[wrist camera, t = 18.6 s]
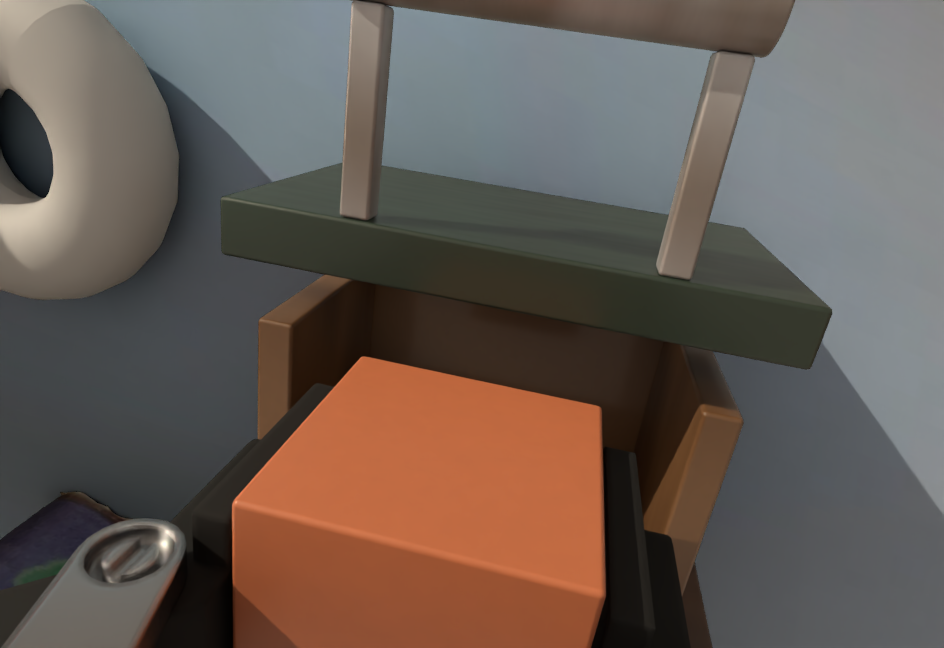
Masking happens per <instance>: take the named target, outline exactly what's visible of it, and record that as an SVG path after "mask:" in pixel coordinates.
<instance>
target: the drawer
mask: <svg viewBox="0 0 944 648" xmlns="http://www.w3.org/2000/svg"><path fill="white" fill-rule="evenodd" d="M351 1H353V2H352V8H351V26H350V43H349V60H348V78H347V95H346V112H345V130H344V147H343V163H339V164H336V165H332V166H329V167H325V168H321V169H318V170H314V171H311V172H307V173H304V174H300V175H297V176H293V177H290V178H286V179H283V180H279V181H276V182H272V183H269V184H265V185H261V186H258V187H254V188H251V189H247V190H244V191H240V192H237V193H233V194H230V195H226V196H223V197H222V198H221V251H222V253H223V254H225V255H229V256H234V257H239V258H244V259H249V260H254V261H259V262H264V263H269V264H274V265H280V266H285V267H290V268H295V269H300V270H305V271H310V272H315V273H320V274H325V275H323V276H322V277H320V278H319V279H318V280H316V281H315V282H313V283H312V284H310V285H309V286H307V287H306V288H304V289H303V290H301V291H300V292H298V293H297V294H295V295H294V296H292V297H291V298H289V299H288V300H287V301H285V302H284V303H282V304H281V305H279V306H278V307H276V308H275V309H273V310H272V311H270V312H269V313H267V314H266V315H264V316H263V317H261V318H260V320H259V333H258V439H260V440H261V439H262V438H263V437H264V436H265V435H266V434H267V433H268V432H269V431H270V430H271V429H272V428H273V426H274V425H275V424H276V423H277V422H278V421H279V420H280V419H281V418H282V417H283V416H284V415H285V414H286V413H287V412H288V411H289V410H290V409H291V408H292V407H293V406H294V405H295V404H296V403H297V402H298V401H299V400H300V399H301V398H302V396H303V395H304V394H305V393H306V392H307V391H308V390H309V389H310V388H311V387H312V386H313V385H314V384H316V383H319V384H324V385H328V386H333V387H335V386H336V385H337V383H338V382H339V381H340V380H341V379H342V378H343V377H344V376H345V374H346V373H347V372H348V371H349V370H350V369H351V368H352V367H353V365H354V364H355V363H356V362H357V361H358V360H359V359H360V358H361V357H364V356H365V357H370V358H375V359H379V360H384V361H389V362H394V363H398V364H403V365H408V366H412V367H417V368H422V369H427V370H431V371H436V372H441V373H445V374H450V375H455V376H459V377H464V378H469V379H474V380H478V381H483V382H488V383H492V384H497V385H502V386H507V387H511V388H516V389H521V390H525V391H530V392H535V393H539V394H544V395H549V396H554V397H558V398H563V399H568V400H572V401H577V402H582V403H587V404H591V405H596V406H599V407H601V410H602V438H603V449H604V447H610V448H614V449H619V450H623V451H628V452H632V453H635V454H636V460H637V469H638V478H639V487H640V496H641V505H642V514H643V522H644V530H648V531H652V532H656V533H661V534H665V535H669V536H670V537H671V539H672V543H673V547H674V553H675V559H676V565H677V571H678V576H679V582H680V588H681V594H682V595H683V592H684V590H685V587H686V584H687V581H688V578H689V576H690V573H691V570H692V567H693V564H694V561H695V559H696V556H697V553H698V550H699V547H700V545H701V542H702V539H703V536H704V533H705V530H706V528H707V525H708V522H709V519H710V516H711V514H712V511H713V508H714V505H715V502H716V499H717V497H718V494H719V491H720V488H721V485H722V483H723V480H724V477H725V474H726V471H727V469H728V466H729V463H730V460H731V457H732V454H733V452H734V449H735V446H736V443H737V440H738V438H739V435H740V432H741V429H742V426H743V423H744V422H743V418H742V416H741V414H740V411H739V409H738V407H737V405H736V402H735V400H734V398H733V396H732V393H731V391H730V389H729V387H728V384H727V382H726V380H725V378H724V375H723V373H722V371H721V369H720V366H719V364H718V362H717V360H716V358H715V355H714V353H713V351H715V352H720V353H725V354H730V355H735V356H740V357H745V358H750V359H755V360H760V361H765V362H770V363H775V364H780V365H785V366H790V367H795V368H800V369H806V370H807V369H810V368H811V367H812V364H813V362H814V359H815V356H816V354H817V351H818V349H819V346H820V344H821V341H822V338H823V336H824V333H825V331H826V328H827V326H828V323H829V320H830V318H831V315H832V309H831V308H830V307H829V306H828V305H827V304H826V303H824V302H823V301H822V300H821V299H820V298H819V297H818V296H817V295H816V294H815V293H814V292H813V291H812V290H810V289H809V288H808V287H807V286H806V285H805V284H804V283H803V282H802V281H801V280H800V279H799V278H798V277H796V276H795V275H794V274H793V273H792V272H791V271H790V270H789V269H788V268H787V267H786V266H785V265H784V264H782V263H781V262H780V261H779V260H778V259H777V258H776V257H775V256H774V255H773V254H772V253H771V252H770V251H768V250H767V249H766V248H765V247H764V246H763V245H762V244H761V243H760V242H759V241H758V240H757V239H756V238H754V237H753V236H752V235H751V234H750V233H749V232H748V231H747V230H746V229H744V228H740V227H734V226H729V225H723V224H717V223H711V222H709V218H710V215H711V211H712V208H713V204H714V201H715V197H716V194H717V190H718V187H719V183H720V180H721V177H722V173H723V170H724V166H725V163H726V159H727V156H728V152H729V149H730V145H731V142H732V138H733V135H734V131H735V128H736V125H737V121H738V118H739V114H740V111H741V107H742V104H743V100H744V97H745V93H746V90H747V86H748V83H749V79H750V76H751V72H752V69H753V66H754V62H755V57H760V58H762V57H766V56H767V55H769V54H770V52H771V51H772V50H773V48H774V47H775V46H776V44H777V42H778V41H779V39H780V37H781V35H782V33H783V31H784V29H785V26H786V24H787V22H788V19H789V17H790V14H791V11H792V9H793V6H794V3H795V0H351ZM386 5H387V6H386ZM389 6H394V7H401V8H408V9H415V10H423V11H430V12H437V13H444V14H451V15H459V16H466V17H473V18H480V19H487V20H495V21H502V22H509V23H516V24H523V25H530V26H538V27H545V28H552V29H559V30H566V31H574V32H581V33H588V34H595V35H602V36H610V37H617V38H624V39H631V40H638V41H645V42H653V43H660V44H667V45H674V46H681V47H689V48H696V49H703V50H710V51H717V52H716V53H713V54H712V55H711V57H710V61H709V64H708V68H707V72H706V76H705V80H704V83H703V87H702V91H701V95H700V99H699V102H698V106H697V110H696V114H695V118H694V121H693V125H692V129H691V133H690V137H689V140H688V144H687V148H686V152H685V156H684V160H683V163H682V167H681V171H680V175H679V179H678V182H677V186H676V190H675V194H674V198H673V201H672V205H671V209H670V213H669V215H665V214H659V213H653V212H647V211H642V210H636V209H630V208H624V207H618V206H613V205H607V204H601V203H595V202H590V201H584V200H578V199H572V198H566V197H561V196H555V195H549V194H543V193H537V192H532V191H526V190H520V189H514V188H508V187H503V186H497V185H491V184H485V183H479V182H474V181H468V180H462V179H456V178H451V177H445V176H439V175H433V174H427V173H422V172H416V171H410V170H404V169H398V168H393V167H387V166H381V165H382V153H383V140H384V128H385V116H386V103H387V91H388V79H389V66H390V54H391V42H392V30H393V17H394V11H393V9H392V8H391V7H389Z"/></svg>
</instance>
